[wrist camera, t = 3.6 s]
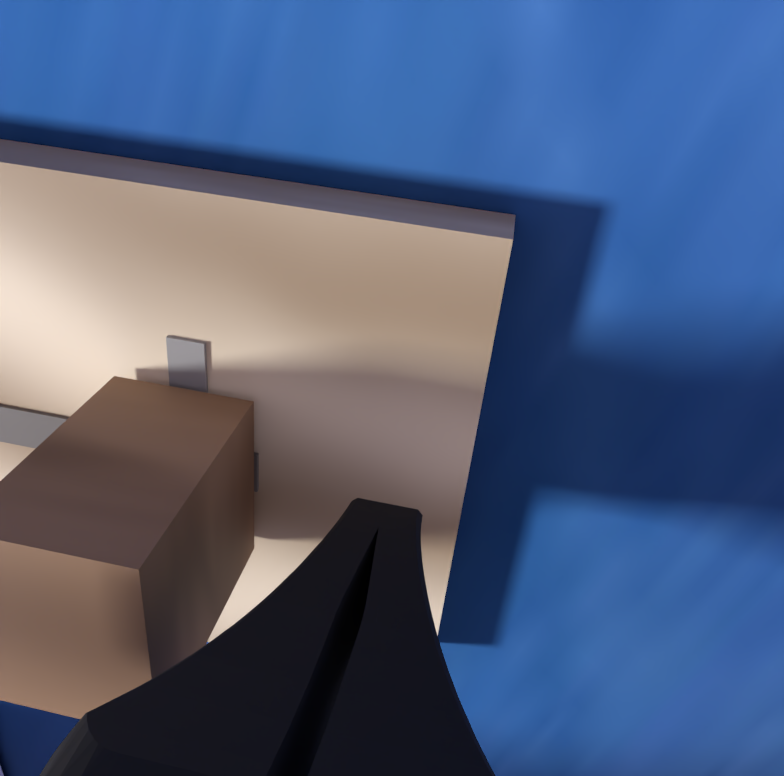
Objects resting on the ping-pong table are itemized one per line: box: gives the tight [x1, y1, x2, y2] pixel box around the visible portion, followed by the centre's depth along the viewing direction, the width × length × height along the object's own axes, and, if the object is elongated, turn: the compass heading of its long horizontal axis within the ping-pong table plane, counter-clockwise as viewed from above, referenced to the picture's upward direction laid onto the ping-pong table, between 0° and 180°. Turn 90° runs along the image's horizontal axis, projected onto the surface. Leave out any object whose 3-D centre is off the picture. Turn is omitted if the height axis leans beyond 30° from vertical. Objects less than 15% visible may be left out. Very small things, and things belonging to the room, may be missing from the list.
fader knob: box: [0, 376, 254, 719], centre depth 13 cm, size 4×3×5 cm
